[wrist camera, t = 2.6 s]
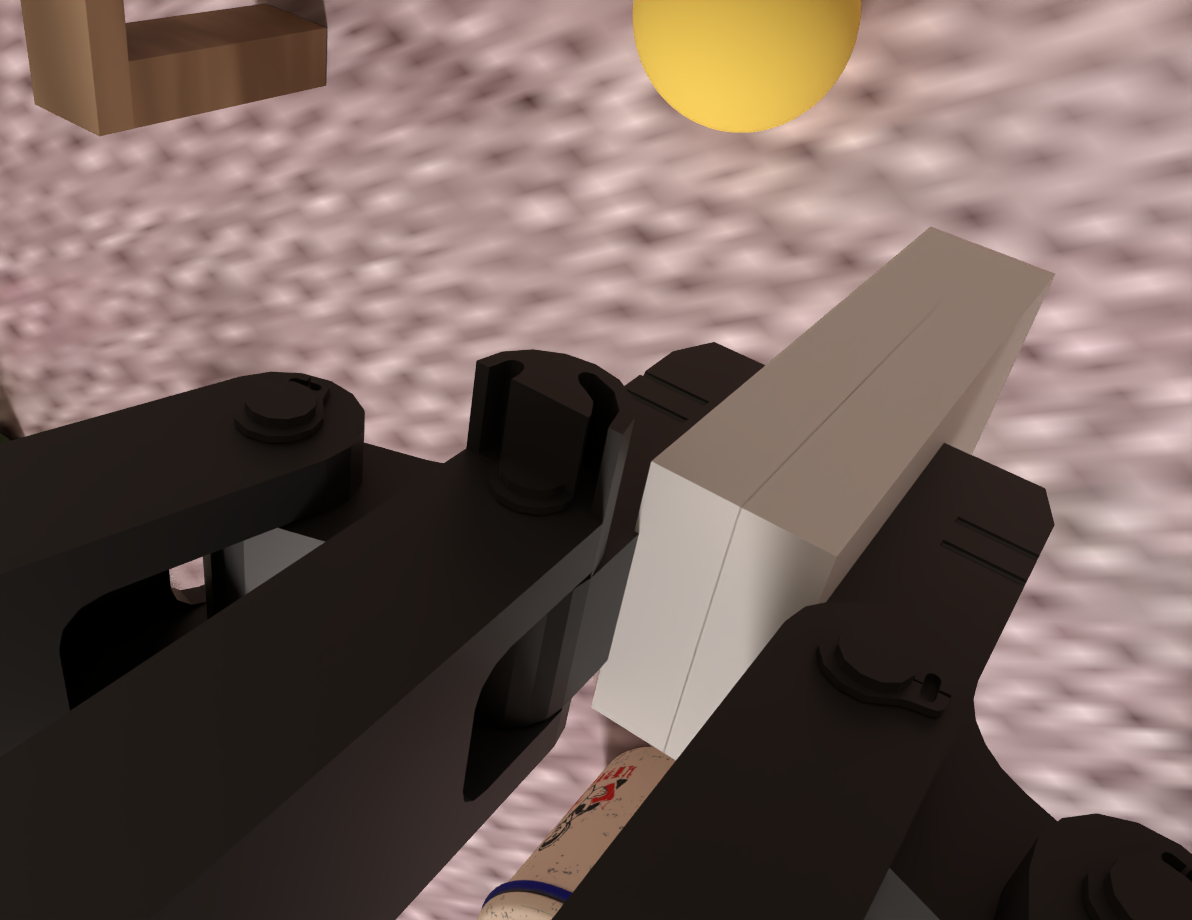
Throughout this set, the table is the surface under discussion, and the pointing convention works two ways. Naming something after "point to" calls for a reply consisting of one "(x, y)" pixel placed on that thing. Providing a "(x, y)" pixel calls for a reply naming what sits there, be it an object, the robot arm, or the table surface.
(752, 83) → the ball
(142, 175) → the table surface
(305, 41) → the bridge
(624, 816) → the teacup with lid
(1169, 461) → the table surface
